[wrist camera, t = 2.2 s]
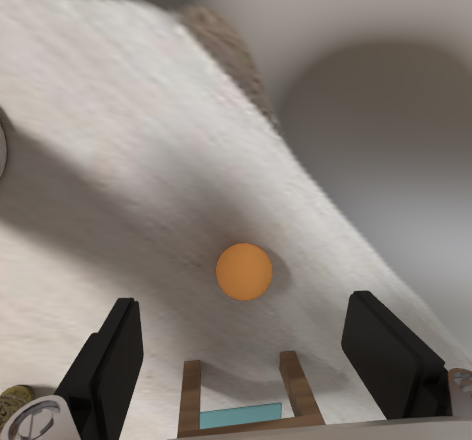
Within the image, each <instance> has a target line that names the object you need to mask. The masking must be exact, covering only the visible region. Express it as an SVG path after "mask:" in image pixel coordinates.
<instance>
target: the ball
mask: <svg viewBox="0 0 472 440" xmlns="http://www.w3.org/2000/svg"><path fill="white" fill-rule="evenodd" d="M216 277H217V281H218V283H219V286H220V287H221V289H222V290H223V291H224V292H225V293H226V294H227V295H228V296H230V297H232V298H234V299H236V300H242V301H247V300H252V299H255V298H257V297H259V296H261V295H262V294H263V293H264V292H265V291H266V290H267V288H268V287H269V285H270V283H271V280H272V264H271V261H270V259H269V257H268V256H267V254H266V253H265V252H264V251H263V250H262V249H261V248H259V247H257V246H255V245H253V244H249V243H239V244H235V245H233V246H231V247H229V248H228V249H226V250H225V251H224V252H223V253H222V255H221V256H220V258H219V260H218V263H217V266H216Z"/></svg>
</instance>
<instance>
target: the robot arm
mask: <svg viewBox="0 0 472 440" xmlns="http://www.w3.org/2000/svg"><path fill="white" fill-rule="evenodd" d="M6 153H7V147H6V141H5V135H4V132H3V129H2V127H1V124H0V177H1V175H2V173H3V171H4V167H5V163H6ZM341 346H342V349H343V351H344V353H345V355H346V356H347V358H348V359H349V361H350V362H351V364H352V366H353V367H354V369H355V370H356V372H357V373H358V375H359V376H360V378H361V380H362V381H363V383H364V384H365V386H366V387H367V389H368V391H369V392H370V394H371V395H372V397H373V398H374V400H375V402H376V403H377V405H378V406H379V408H380V409H381V411H382V413H383V414H384V416H385V417H386V419H387V420H379V421H367V422H355V423H342V424H330V425H319V426H307V427H295V428H284V429H273V430H261V431H250V432H240V433H229V434H218V435H208V436H197V437H186V438H177V439H168V440H472V371H469V370H465V369H460V368H454V369H451V370H450V371H447V370H446V369H445V368H444V364H445V362H444V361H443V360H442V359H441V358H440V357H439V356H438V355H437V354H436V353H435V352H434V351H433V350H432V349H431V348H430V347H428V346H427V345H426V344H425V343H424V342H423V341H422V340H421V339H420V338H419V337H418V336H417V335H416V334H415V333H413V332H412V331H411V330H410V329H409V328H408V327H407V326H406V325H405V324H404V323H403V322H402V321H401V320H400V319H398V318H397V317H396V316H395V315H394V314H393V313H392V312H391V311H390V310H389V309H388V308H387V307H386V306H385V305H384V304H382V303H381V302H380V301H379V300H378V299H377V298H376V297H375V296H374V295H373V294H372V293H371V292H369V291H354V293H353V294H351V295H350V298H349V303H348V308H347V314H346V319H345V325H344V330H343V336H342V341H341ZM143 355H144V353H143V342H142V331H141V321H140V310H139V302H138V301H134V298H119V299H118V300H117V301H116V303H115V305H114V306H113V308H112V310H111V311H110V313H109V315H108V317H107V318H106V320H105V322H104V323H103V325H102V327H101V329H100V330H99V332H98V333H92V334H91V335H90V337H89V338H88V340H87V341H86V343H85V344H84V346H83V348H82V349H81V351H80V353H79V354H78V356H77V357H76V359H75V361H74V362H73V364H72V365H71V367H70V369H69V370H68V372H67V373H66V375H65V377H64V378H63V380H62V382H61V383H60V385H59V386H58V388H57V390H56V391H55V393H54V394H53V395H48V396H44V397H40V398H38V399H36V400H33V401H31V402H29V403H28V404H26V405H25V406H23V407H22V408H20V409H19V410H18V411H17V412H16V413H15V414H14V415H12V417H11V418H10V419H9V420H8V421H7V423H6V424H5V426H4V428H3V430H2V432H1V434H0V440H119V437H120V434H121V431H122V428H123V424H124V421H125V418H126V415H127V411H128V408H129V405H130V401H131V398H132V395H133V392H134V388H135V385H136V382H137V379H138V375H139V372H140V369H141V366H142V362H143Z"/></svg>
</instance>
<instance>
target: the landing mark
mask: <svg viewBox="0 0 472 440" xmlns="http://www.w3.org/2000/svg"><path fill="white" fill-rule="evenodd" d="M280 414H281V403H275V404H267V405H258V406H250V407H242V408H234V409H226V410H218V411H209V412H201V413H200V429H206V428H214V427H221V426H229V425H237V424H245V423H252V422H260V421H268V420H276V419H280Z"/></svg>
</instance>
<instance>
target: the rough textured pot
mask: <svg viewBox="0 0 472 440" xmlns="http://www.w3.org/2000/svg"><path fill="white" fill-rule="evenodd" d="M33 400H34V394H33V392H32V391H31V390H30V389H29V388H27V387H24V386H13V387H10V388H8V389H7V390H5V391H4V392H3V393H2V394H1V395H0V434H1V432H2V430H3V428H4V426H5V424H6V423H7V421H8V420H9V419H10V418H11V417H12V415H14V414H15V413H16V412H17V411H18V410H19V409H20V408H22V407H23V406H25V405H26V404H28V403H29V402H31V401H33Z"/></svg>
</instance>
